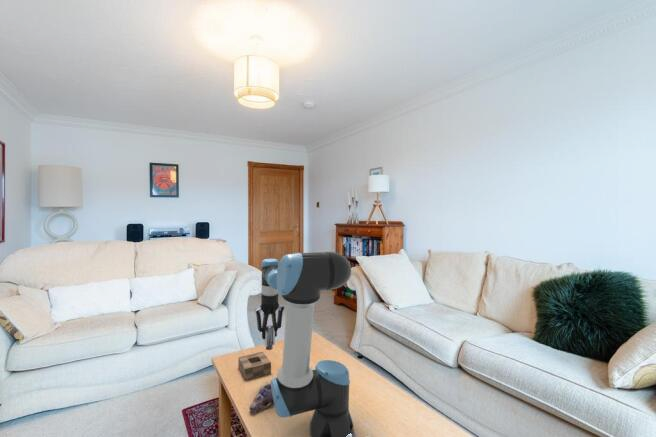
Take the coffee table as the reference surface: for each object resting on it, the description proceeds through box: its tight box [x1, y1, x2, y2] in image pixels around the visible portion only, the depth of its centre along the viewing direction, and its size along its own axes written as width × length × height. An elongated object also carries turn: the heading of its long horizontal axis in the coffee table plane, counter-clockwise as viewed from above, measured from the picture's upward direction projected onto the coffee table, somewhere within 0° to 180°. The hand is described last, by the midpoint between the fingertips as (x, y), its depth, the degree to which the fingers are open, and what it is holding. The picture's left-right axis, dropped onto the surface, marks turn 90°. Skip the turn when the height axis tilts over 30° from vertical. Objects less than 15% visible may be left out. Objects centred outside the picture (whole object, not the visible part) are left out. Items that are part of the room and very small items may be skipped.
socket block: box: [237, 351, 272, 381], centre depth 144 cm, size 12×12×5 cm
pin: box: [265, 325, 274, 351], centre depth 137 cm, size 3×3×10 cm
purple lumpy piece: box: [249, 383, 274, 414], centre depth 119 cm, size 12×8×6 cm, turn 142°
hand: (269, 344), depth 138 cm, fingers closed on pin, 3 cm apart
